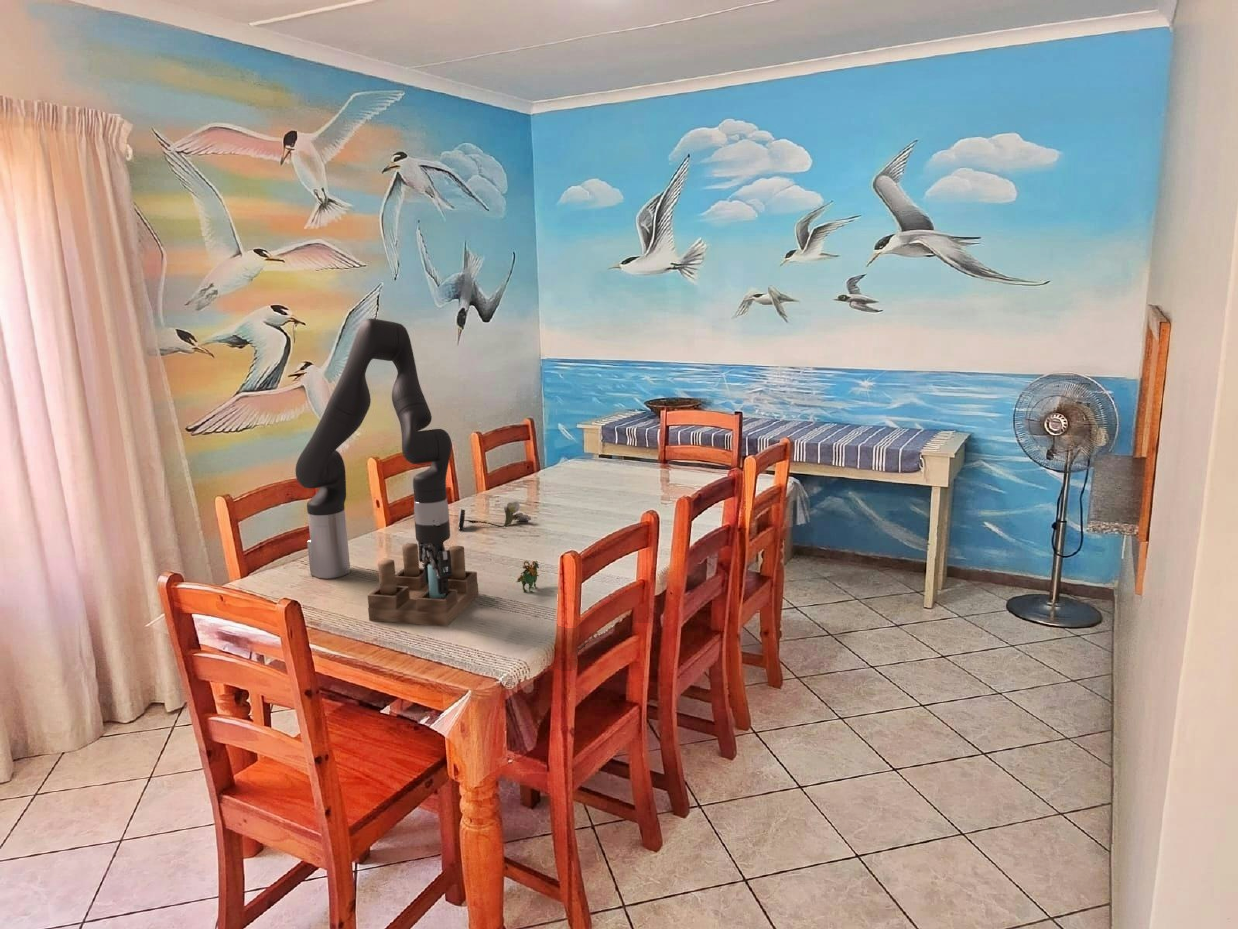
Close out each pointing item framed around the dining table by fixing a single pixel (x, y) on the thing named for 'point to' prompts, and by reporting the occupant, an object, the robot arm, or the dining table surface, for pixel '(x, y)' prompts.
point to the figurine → (529, 575)
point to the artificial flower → (509, 513)
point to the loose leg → (434, 584)
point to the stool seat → (420, 591)
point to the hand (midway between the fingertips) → (436, 587)
